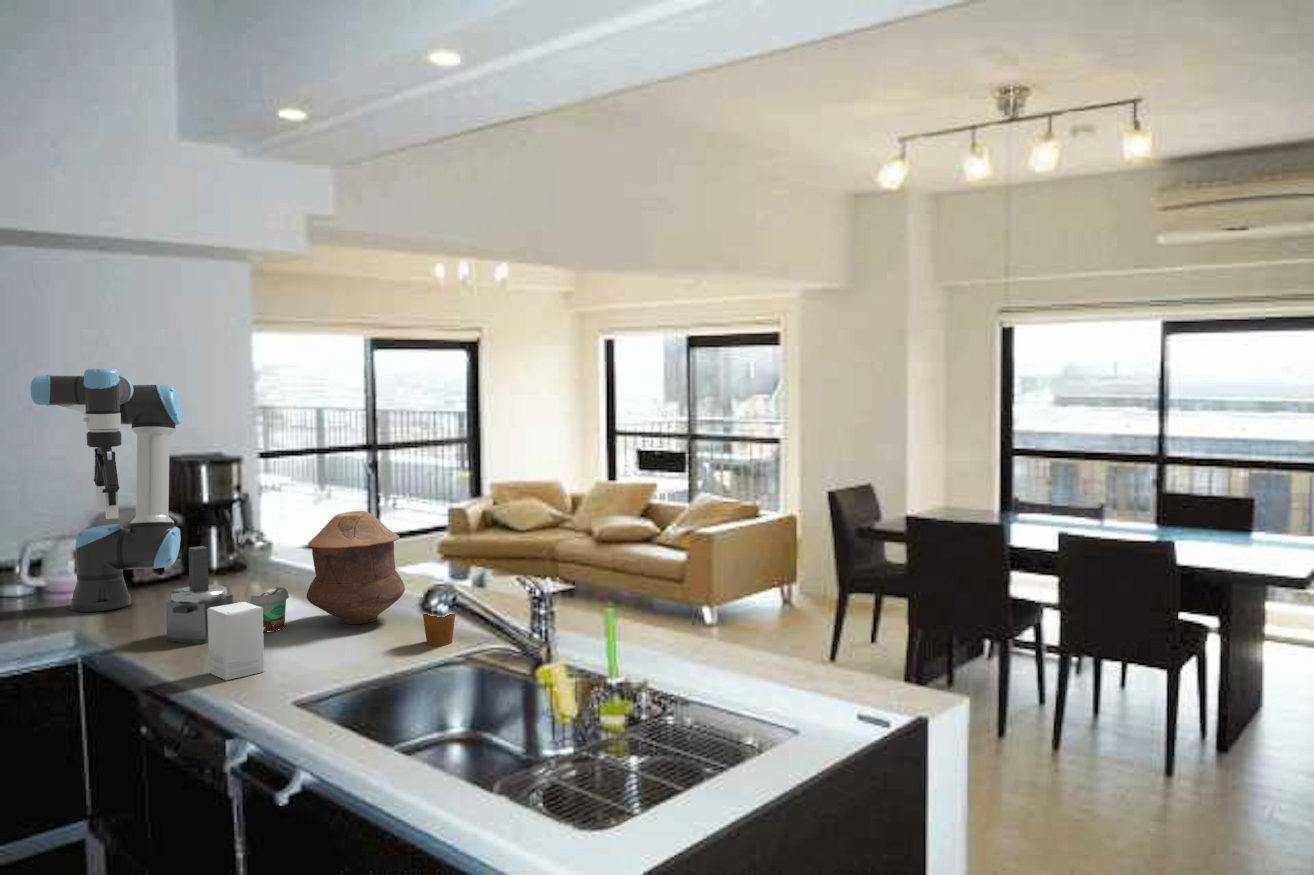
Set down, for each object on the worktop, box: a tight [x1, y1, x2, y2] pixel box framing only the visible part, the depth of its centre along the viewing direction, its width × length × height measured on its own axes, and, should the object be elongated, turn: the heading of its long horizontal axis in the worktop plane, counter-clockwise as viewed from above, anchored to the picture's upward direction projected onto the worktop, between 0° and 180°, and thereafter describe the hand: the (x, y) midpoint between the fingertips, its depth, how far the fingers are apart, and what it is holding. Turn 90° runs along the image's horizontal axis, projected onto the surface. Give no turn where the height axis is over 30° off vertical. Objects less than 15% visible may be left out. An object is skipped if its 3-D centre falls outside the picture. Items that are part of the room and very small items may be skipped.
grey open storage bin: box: [165, 593, 234, 645], centre depth 248 cm, size 15×11×10 cm
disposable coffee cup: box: [419, 593, 456, 647], centre depth 243 cm, size 10×10×12 cm
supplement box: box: [207, 601, 265, 681], centre depth 218 cm, size 9×9×15 cm
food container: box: [249, 586, 290, 633], centre depth 256 cm, size 12×6×10 cm, turn 168°
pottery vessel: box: [306, 510, 406, 625], centre depth 264 cm, size 26×26×30 cm
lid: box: [170, 545, 228, 604], centre depth 248 cm, size 13×13×13 cm
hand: (107, 515), depth 243 cm, fingers open, 13 cm apart
